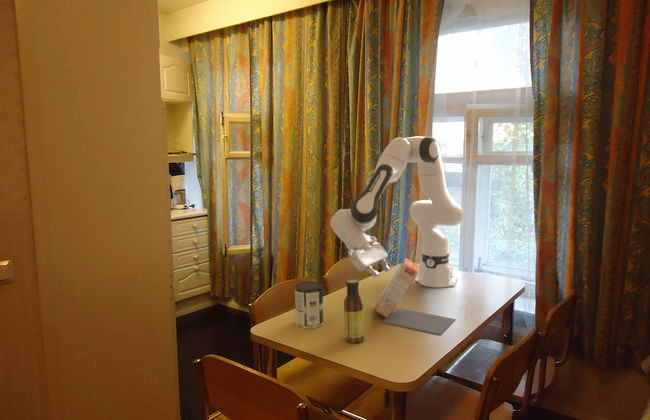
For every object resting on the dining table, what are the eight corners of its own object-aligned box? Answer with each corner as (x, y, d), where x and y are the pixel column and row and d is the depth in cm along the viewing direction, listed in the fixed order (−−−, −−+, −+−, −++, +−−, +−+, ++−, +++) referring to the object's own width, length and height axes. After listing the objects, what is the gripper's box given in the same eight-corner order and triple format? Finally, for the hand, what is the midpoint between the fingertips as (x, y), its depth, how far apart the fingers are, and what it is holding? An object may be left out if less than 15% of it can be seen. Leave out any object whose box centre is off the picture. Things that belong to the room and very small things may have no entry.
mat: (399, 309, 170) (399, 308, 169) (455, 320, 157) (455, 319, 157) (381, 322, 156) (381, 321, 156) (440, 335, 144) (440, 334, 144)
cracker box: (387, 319, 158) (418, 272, 154) (373, 310, 158) (404, 263, 155) (390, 308, 171) (418, 265, 168) (377, 299, 172) (405, 256, 169)
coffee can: (310, 315, 164) (309, 279, 162) (329, 322, 157) (328, 285, 155) (289, 323, 157) (288, 285, 155) (308, 330, 150) (307, 291, 148)
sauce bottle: (367, 339, 142) (367, 280, 140) (356, 345, 138) (355, 285, 135) (352, 334, 147) (351, 277, 144) (340, 340, 142) (339, 281, 139)
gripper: (351, 245, 157) (375, 275, 153) (376, 236, 174) (399, 262, 170) (341, 255, 160) (364, 285, 156) (367, 245, 177) (389, 272, 173)
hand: (382, 273), depth 163 cm, fingers open, 8 cm apart
